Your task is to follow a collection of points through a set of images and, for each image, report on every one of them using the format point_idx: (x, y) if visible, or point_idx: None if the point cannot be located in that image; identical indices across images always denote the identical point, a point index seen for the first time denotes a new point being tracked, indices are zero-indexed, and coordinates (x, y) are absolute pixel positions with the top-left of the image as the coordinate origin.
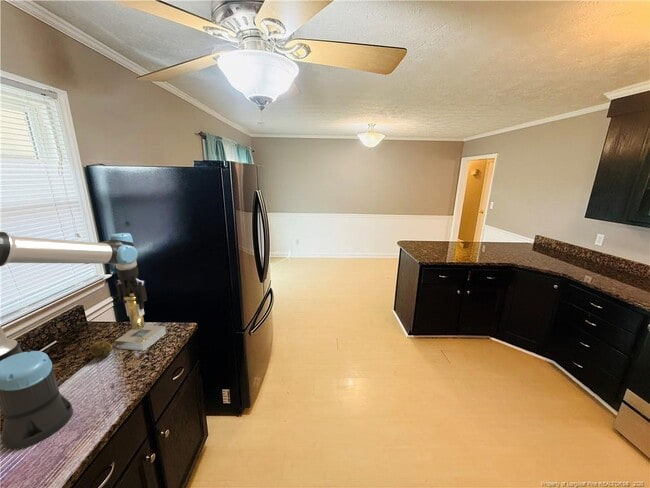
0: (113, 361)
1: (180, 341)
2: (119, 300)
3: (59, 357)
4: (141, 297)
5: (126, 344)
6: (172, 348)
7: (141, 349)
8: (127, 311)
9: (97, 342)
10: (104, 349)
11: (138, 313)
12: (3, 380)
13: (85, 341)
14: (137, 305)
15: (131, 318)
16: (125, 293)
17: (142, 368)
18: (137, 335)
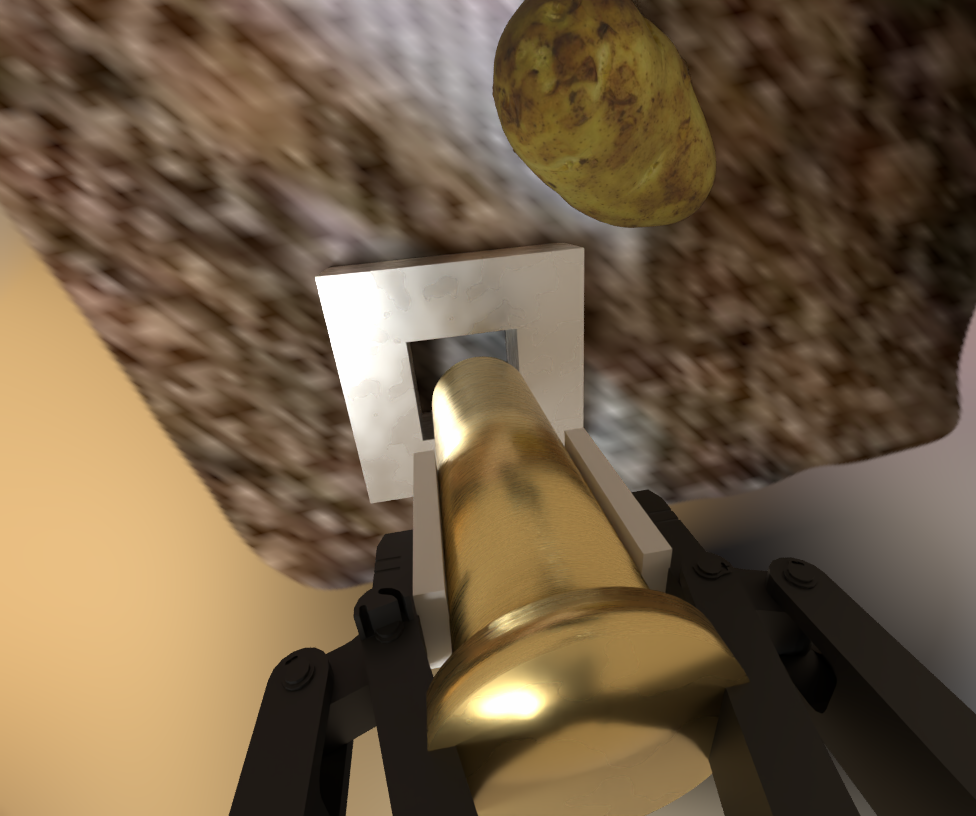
0: (431, 91)
1: (170, 426)
2: (805, 565)
3: (889, 47)
4: (263, 780)
5: (475, 256)
6: (135, 344)
7: (345, 266)
8: (592, 462)
9: (626, 67)
10: (499, 43)
11: (424, 477)
12: None
13: (847, 259)
14: (418, 568)
15: (496, 406)
16: (762, 787)
17: (79, 53)
18: None
